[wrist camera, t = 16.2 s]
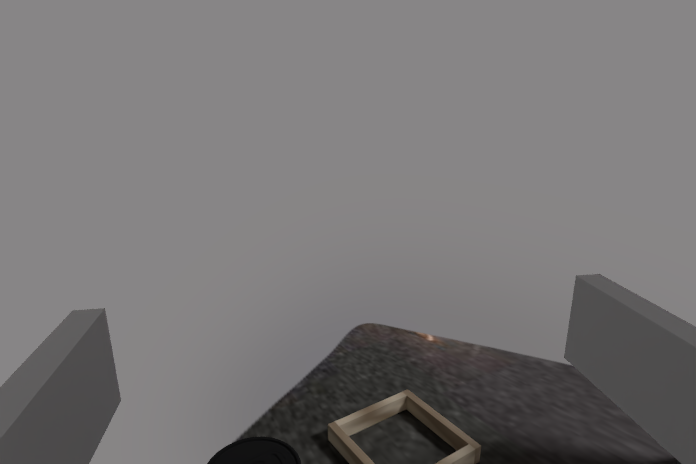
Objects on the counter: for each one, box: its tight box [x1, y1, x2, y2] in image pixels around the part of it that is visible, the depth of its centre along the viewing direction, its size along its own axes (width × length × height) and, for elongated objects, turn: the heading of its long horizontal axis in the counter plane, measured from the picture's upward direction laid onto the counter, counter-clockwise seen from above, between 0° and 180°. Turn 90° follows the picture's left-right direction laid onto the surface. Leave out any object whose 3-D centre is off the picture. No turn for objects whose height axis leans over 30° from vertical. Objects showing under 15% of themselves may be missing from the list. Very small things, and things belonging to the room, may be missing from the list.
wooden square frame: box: [328, 389, 481, 464], centre depth 45 cm, size 11×11×2 cm
